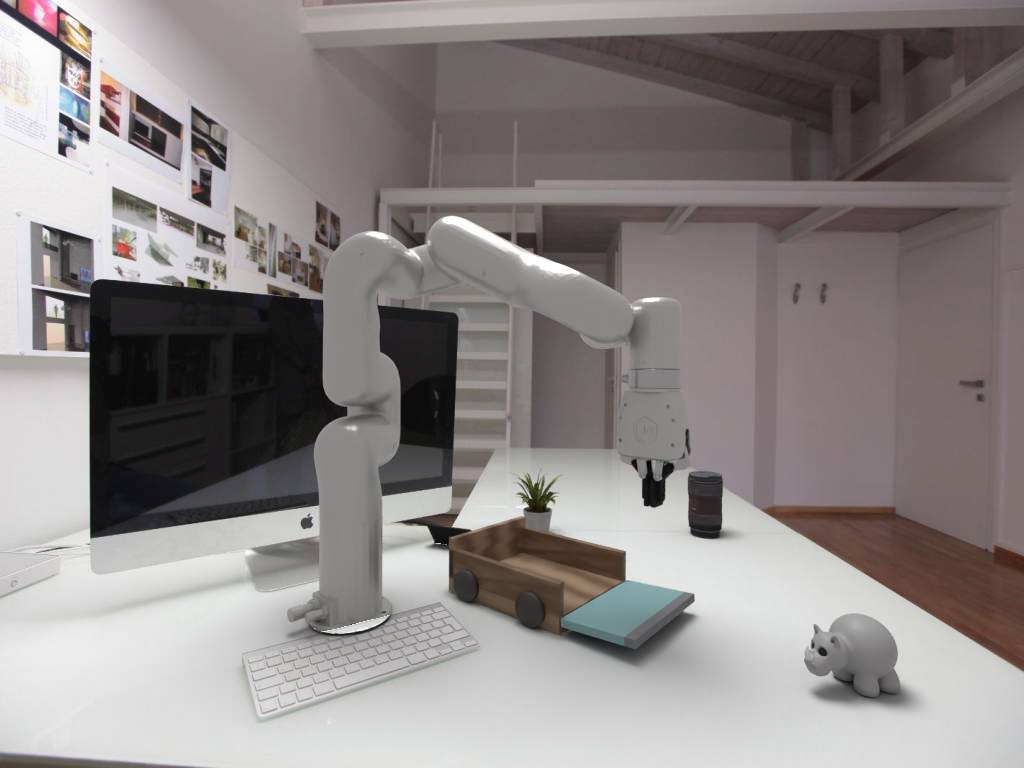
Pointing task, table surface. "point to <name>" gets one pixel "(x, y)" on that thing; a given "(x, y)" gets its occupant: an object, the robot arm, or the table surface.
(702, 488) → the camera lens
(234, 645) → the table surface
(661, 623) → the panel
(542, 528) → the house plant
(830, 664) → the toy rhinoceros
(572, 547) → the hand cart
